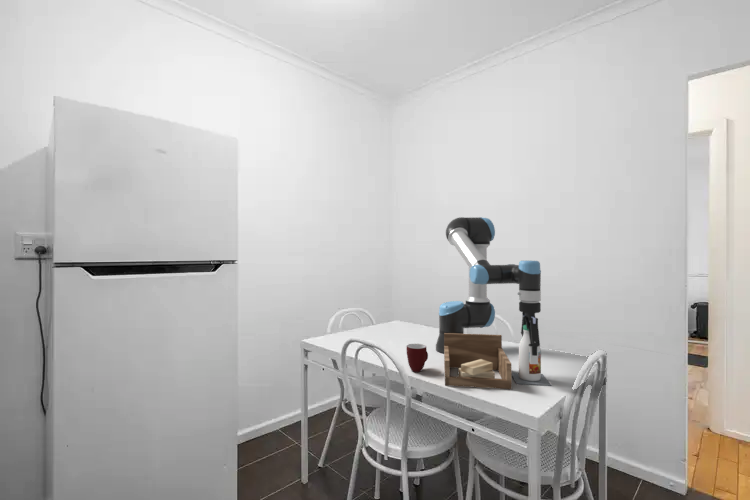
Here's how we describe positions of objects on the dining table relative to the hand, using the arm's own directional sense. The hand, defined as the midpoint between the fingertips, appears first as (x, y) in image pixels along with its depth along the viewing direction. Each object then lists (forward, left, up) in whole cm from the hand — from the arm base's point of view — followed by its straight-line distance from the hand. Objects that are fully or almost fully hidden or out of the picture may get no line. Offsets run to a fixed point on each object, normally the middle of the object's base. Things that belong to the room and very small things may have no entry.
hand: (529, 359), depth 142 cm
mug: (-28, -32, -8) cm, 43 cm away
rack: (-11, -17, -8) cm, 22 cm away
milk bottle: (0, 0, -7) cm, 7 cm away
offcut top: (-6, -20, -3) cm, 21 cm away
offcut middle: (-7, -20, -6) cm, 22 cm away
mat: (0, 0, -8) cm, 8 cm away
